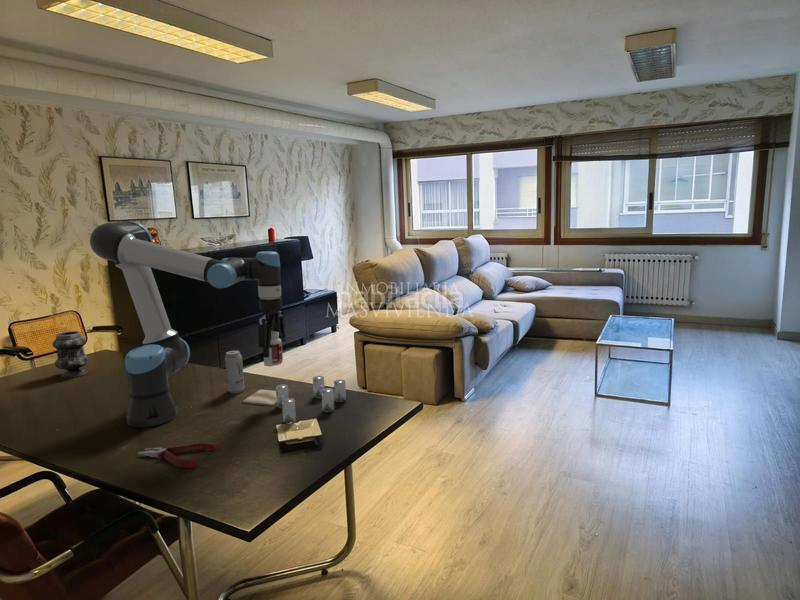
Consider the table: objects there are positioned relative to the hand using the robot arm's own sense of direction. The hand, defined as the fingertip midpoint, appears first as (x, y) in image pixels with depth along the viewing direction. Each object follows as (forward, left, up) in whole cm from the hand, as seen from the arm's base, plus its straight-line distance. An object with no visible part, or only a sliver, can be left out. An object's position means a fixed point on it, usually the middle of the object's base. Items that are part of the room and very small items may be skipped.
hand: (273, 362), depth 179 cm
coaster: (+2, +5, -14) cm, 15 cm away
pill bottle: (0, 0, -1) cm, 1 cm away
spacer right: (-3, -21, -14) cm, 26 cm away
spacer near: (-14, -13, -14) cm, 24 cm away
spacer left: (-3, -4, -14) cm, 15 cm away
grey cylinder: (+6, -22, -14) cm, 27 cm away
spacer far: (+8, -13, -14) cm, 21 cm away
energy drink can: (+6, +20, -14) cm, 25 cm away
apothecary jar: (+8, +100, -14) cm, 102 cm away
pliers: (-41, +7, -15) cm, 44 cm away
